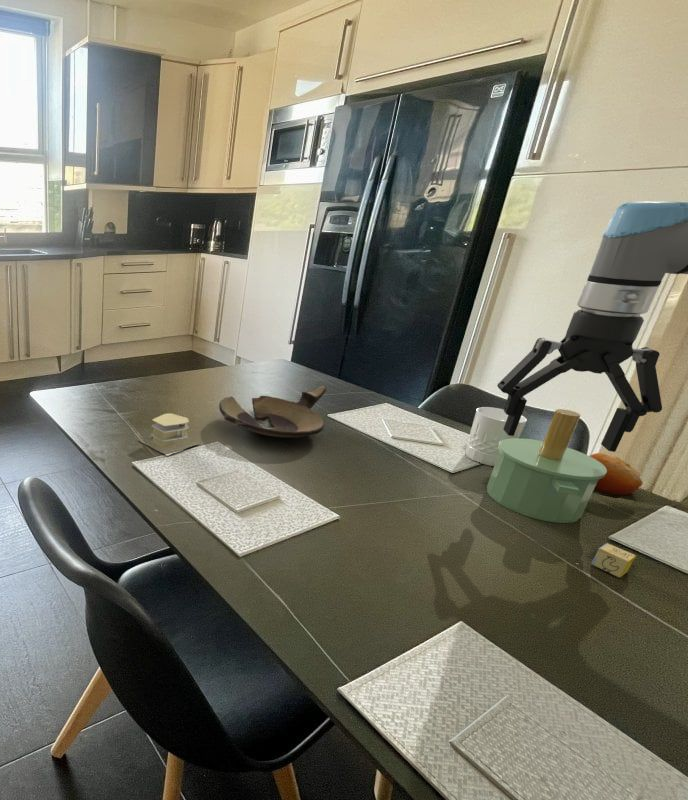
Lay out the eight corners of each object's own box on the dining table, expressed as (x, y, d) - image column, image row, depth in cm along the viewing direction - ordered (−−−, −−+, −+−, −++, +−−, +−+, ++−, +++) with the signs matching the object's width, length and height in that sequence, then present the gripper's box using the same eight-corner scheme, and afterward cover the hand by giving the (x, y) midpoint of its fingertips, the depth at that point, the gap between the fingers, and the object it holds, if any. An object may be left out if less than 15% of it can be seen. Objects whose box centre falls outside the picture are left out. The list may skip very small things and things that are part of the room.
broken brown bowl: (198, 414, 120) (202, 385, 117) (309, 407, 125) (314, 379, 122) (240, 456, 99) (245, 422, 96) (370, 447, 104) (378, 414, 101)
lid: (581, 453, 86) (603, 405, 82) (621, 491, 74) (648, 437, 71) (487, 438, 91) (503, 392, 87) (510, 471, 79) (530, 420, 76)
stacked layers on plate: (167, 457, 99) (169, 432, 97) (137, 441, 105) (139, 417, 103) (200, 444, 104) (203, 421, 102) (170, 430, 111) (172, 407, 109)
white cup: (468, 446, 105) (482, 404, 101) (514, 460, 99) (531, 415, 96) (456, 457, 100) (471, 413, 97) (504, 472, 95) (521, 426, 91)
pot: (556, 485, 90) (573, 444, 87) (603, 541, 75) (626, 494, 72) (474, 470, 95) (488, 431, 92) (502, 519, 80) (520, 475, 77)
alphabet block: (598, 558, 71) (607, 541, 70) (628, 571, 69) (637, 554, 68) (590, 565, 70) (598, 548, 69) (619, 579, 67) (628, 561, 66)
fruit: (556, 466, 94) (599, 440, 90) (594, 494, 92) (640, 469, 88) (567, 485, 88) (614, 457, 83) (609, 516, 86) (659, 489, 82)
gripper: (516, 308, 74) (473, 434, 82) (743, 325, 65) (670, 466, 73) (501, 301, 81) (463, 418, 89) (706, 315, 71) (642, 445, 79)
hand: (556, 440), depth 81 cm, fingers open, 12 cm apart
